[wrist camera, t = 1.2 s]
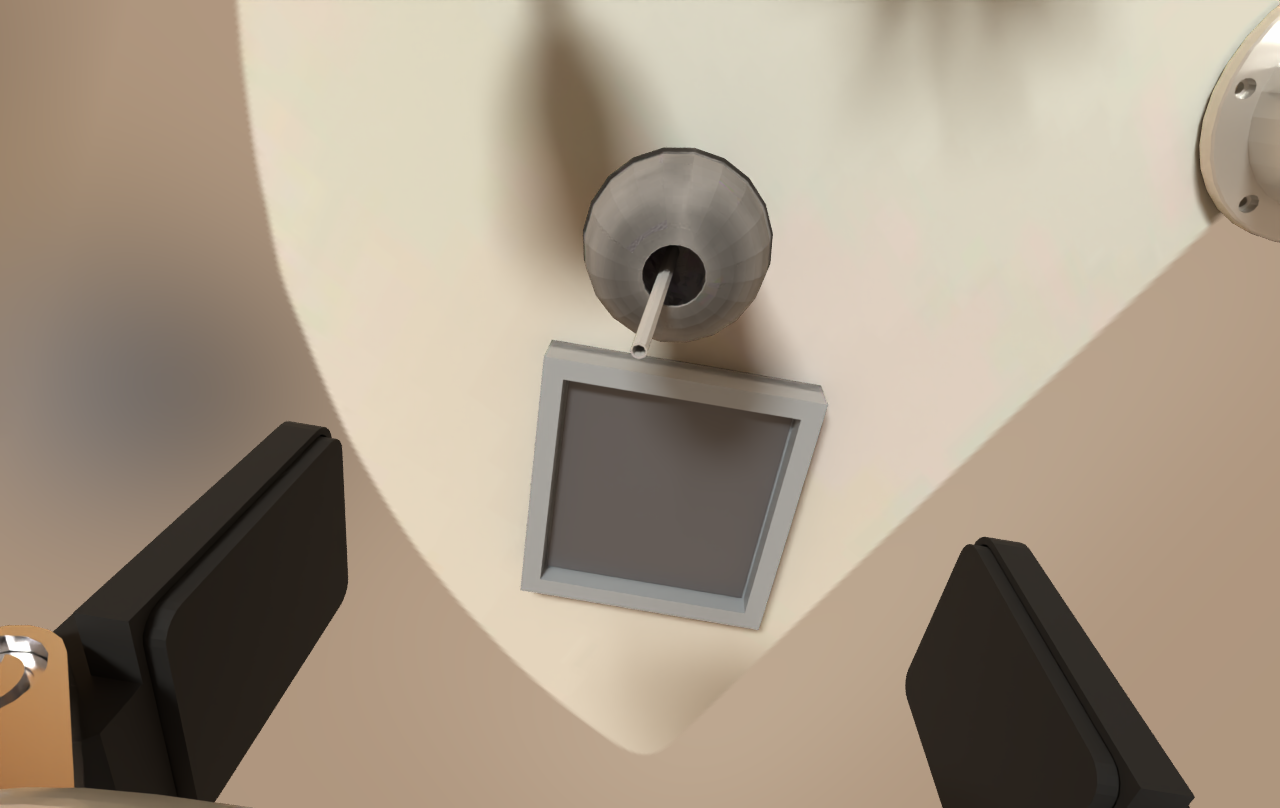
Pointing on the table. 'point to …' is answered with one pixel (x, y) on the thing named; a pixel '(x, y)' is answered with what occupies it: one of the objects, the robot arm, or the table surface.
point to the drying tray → (665, 483)
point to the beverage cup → (676, 245)
